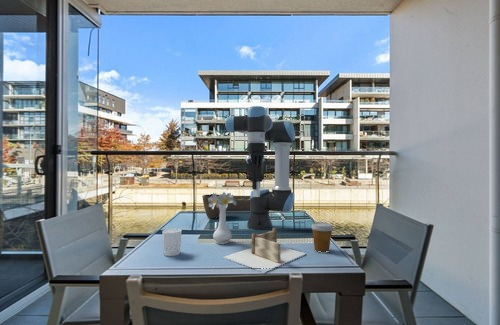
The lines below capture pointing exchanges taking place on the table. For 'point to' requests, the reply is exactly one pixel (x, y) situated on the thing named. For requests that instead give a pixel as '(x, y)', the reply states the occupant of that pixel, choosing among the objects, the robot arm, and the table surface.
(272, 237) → the fixed fence section
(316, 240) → the disposable coffee cup
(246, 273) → the table surface
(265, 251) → the hinged fence panel
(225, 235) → the flower vase
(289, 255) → the board
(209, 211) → the plant pot
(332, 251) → the table surface
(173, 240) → the white cup
